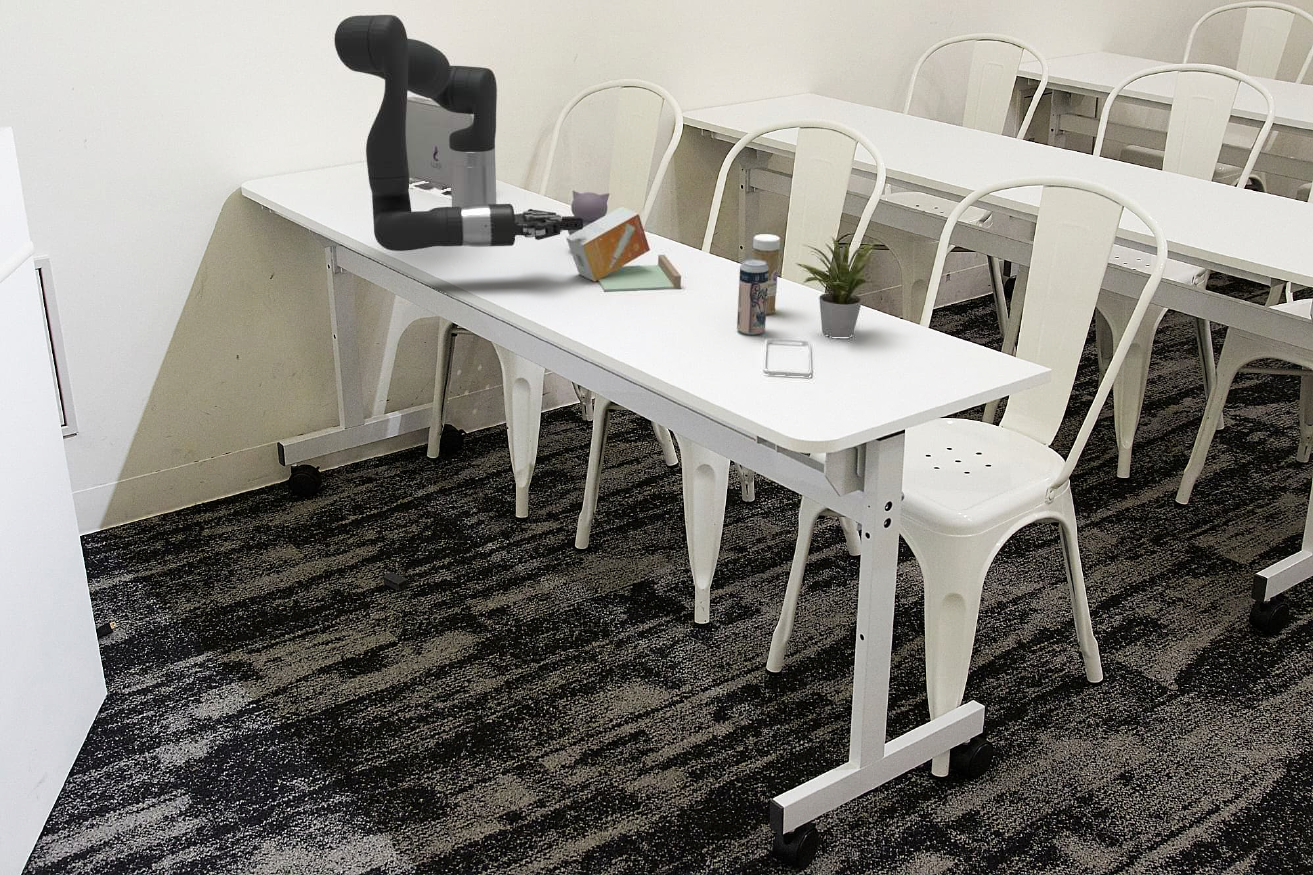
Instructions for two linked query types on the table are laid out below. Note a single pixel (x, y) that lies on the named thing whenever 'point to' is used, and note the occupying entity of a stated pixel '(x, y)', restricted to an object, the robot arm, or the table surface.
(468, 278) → the table surface
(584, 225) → the cat figurine
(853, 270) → the house plant
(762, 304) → the beer can
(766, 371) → the white phone case
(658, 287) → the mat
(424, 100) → the network device
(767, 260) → the sprinkles bottle
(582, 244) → the small box
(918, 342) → the table surface
